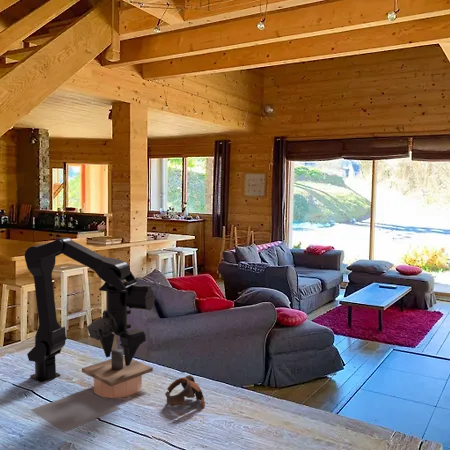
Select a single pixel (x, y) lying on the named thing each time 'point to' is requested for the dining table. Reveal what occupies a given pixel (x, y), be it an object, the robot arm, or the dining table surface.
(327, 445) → the dining table surface
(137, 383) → the terracotta bowl
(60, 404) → the felt mat
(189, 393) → the brown curved piece
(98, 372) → the walnut lid
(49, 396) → the dining table surface
